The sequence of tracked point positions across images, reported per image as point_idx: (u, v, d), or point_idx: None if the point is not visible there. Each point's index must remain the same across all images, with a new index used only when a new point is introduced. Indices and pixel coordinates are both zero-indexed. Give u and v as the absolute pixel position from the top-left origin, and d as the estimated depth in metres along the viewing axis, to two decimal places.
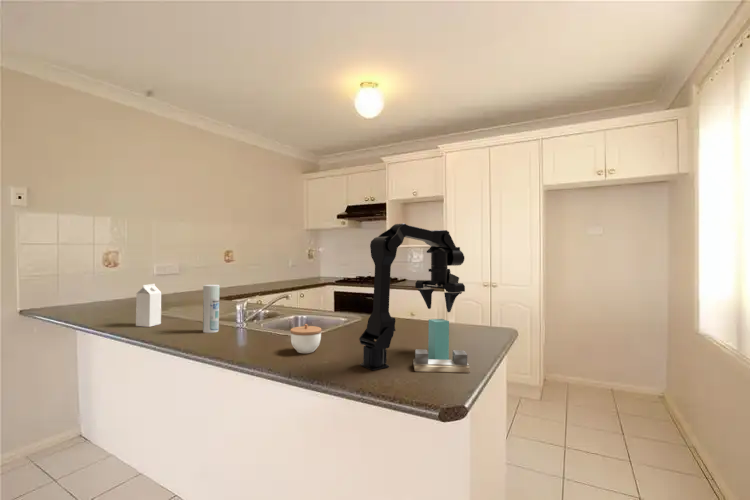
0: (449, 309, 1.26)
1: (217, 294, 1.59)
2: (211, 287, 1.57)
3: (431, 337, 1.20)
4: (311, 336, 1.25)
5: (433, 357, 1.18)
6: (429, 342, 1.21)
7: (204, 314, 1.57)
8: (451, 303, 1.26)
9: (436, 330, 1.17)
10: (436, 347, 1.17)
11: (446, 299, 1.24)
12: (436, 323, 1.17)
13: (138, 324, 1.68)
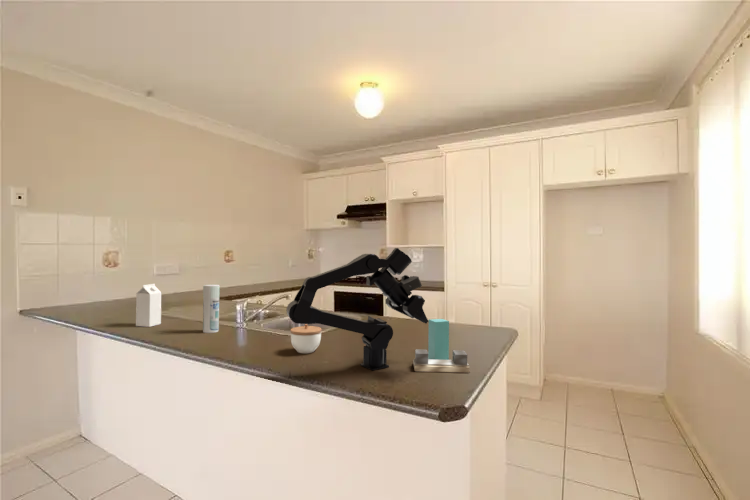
0: (425, 321, 1.13)
1: (217, 294, 1.59)
2: (211, 287, 1.57)
3: (431, 337, 1.20)
4: (311, 336, 1.25)
5: (433, 357, 1.18)
6: (429, 342, 1.21)
7: (204, 314, 1.57)
8: (422, 316, 1.12)
9: (436, 330, 1.17)
10: (436, 347, 1.17)
11: (414, 317, 1.11)
12: (436, 323, 1.17)
13: (138, 324, 1.68)
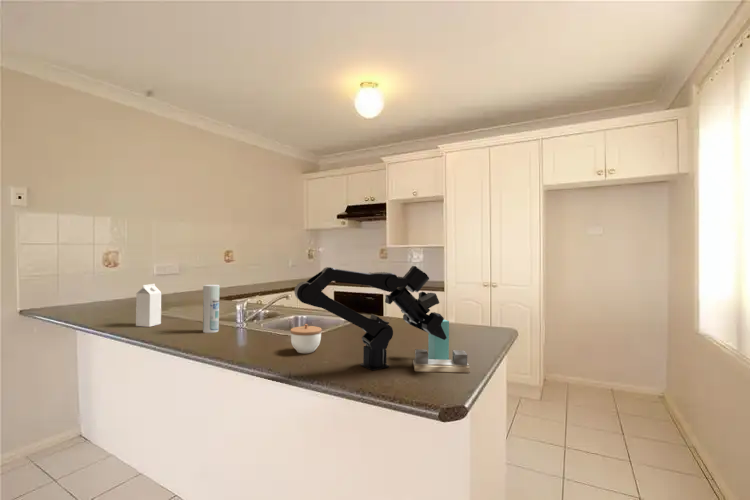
0: (443, 337, 1.15)
1: (217, 294, 1.59)
2: (211, 287, 1.57)
3: (431, 337, 1.20)
4: (311, 336, 1.25)
5: (433, 357, 1.18)
6: (429, 342, 1.21)
7: (204, 314, 1.57)
8: (441, 333, 1.14)
9: None
10: (436, 347, 1.17)
11: None
12: None
13: (138, 324, 1.68)
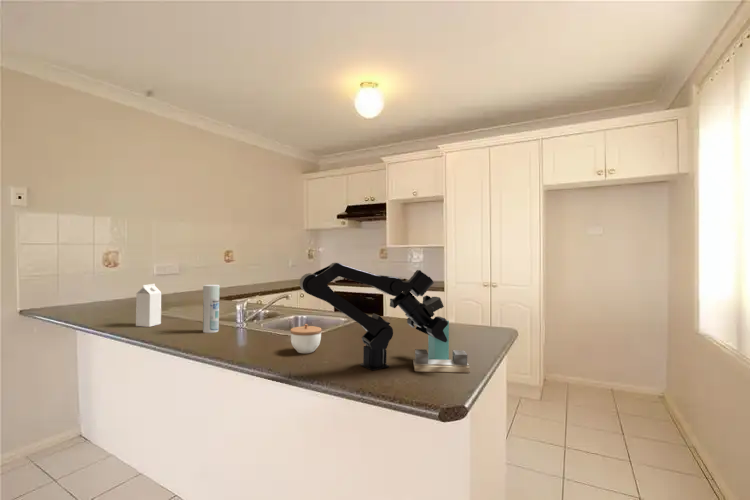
0: (444, 340, 1.17)
1: (217, 294, 1.59)
2: (211, 287, 1.57)
3: (430, 337, 1.20)
4: (311, 336, 1.25)
5: (433, 357, 1.18)
6: (429, 342, 1.21)
7: (204, 314, 1.57)
8: (442, 335, 1.17)
9: None
10: (435, 347, 1.17)
11: None
12: None
13: (138, 324, 1.68)
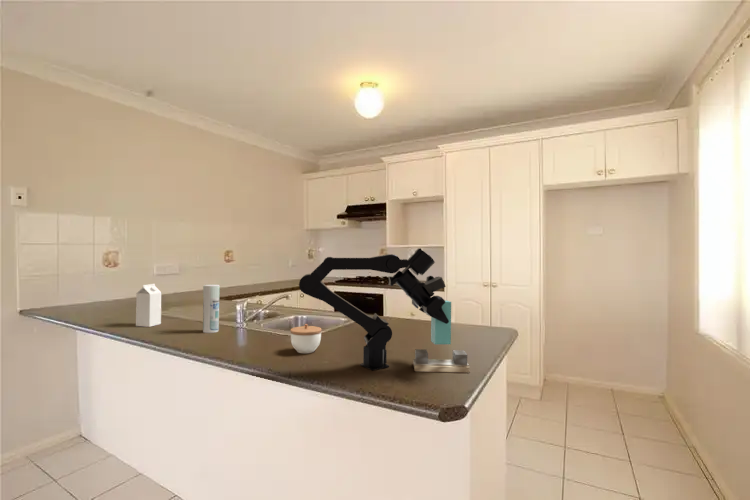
0: (445, 321, 1.13)
1: (217, 294, 1.59)
2: (211, 287, 1.57)
3: (432, 318, 1.16)
4: (311, 336, 1.25)
5: (434, 338, 1.14)
6: (431, 323, 1.17)
7: (204, 314, 1.57)
8: (442, 316, 1.12)
9: None
10: (436, 328, 1.13)
11: (433, 317, 1.12)
12: None
13: (138, 324, 1.68)
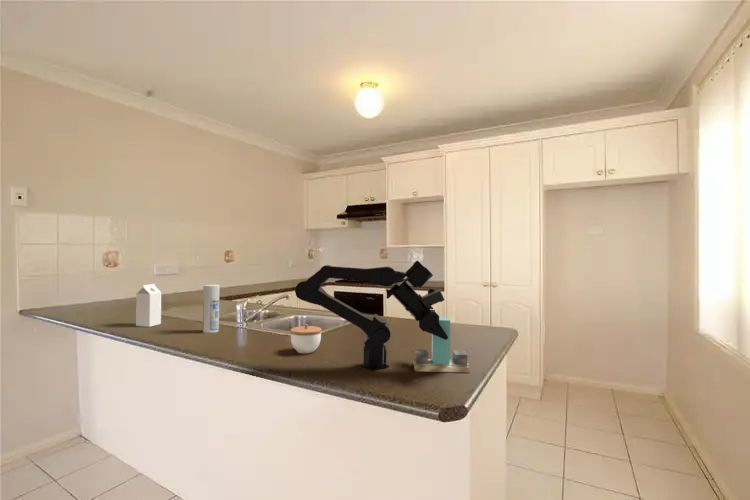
0: (444, 337, 1.08)
1: (217, 294, 1.59)
2: (211, 287, 1.57)
3: (432, 336, 1.13)
4: (311, 336, 1.25)
5: (432, 357, 1.11)
6: None
7: (204, 314, 1.57)
8: (440, 331, 1.07)
9: None
10: (434, 347, 1.10)
11: (431, 333, 1.08)
12: None
13: (138, 324, 1.68)
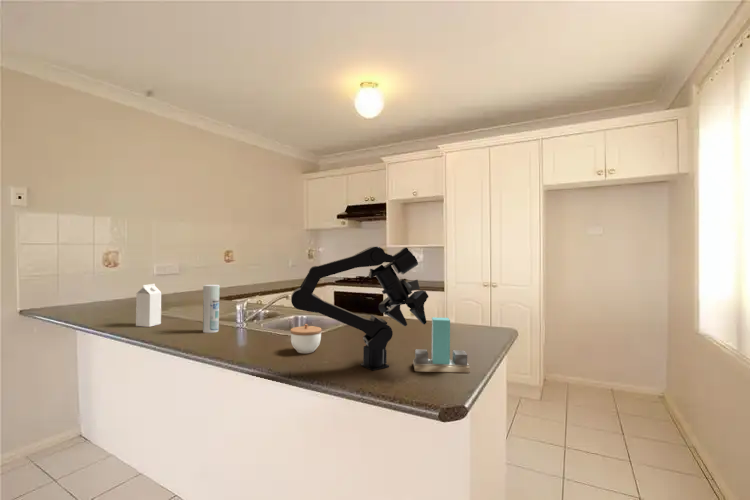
0: (424, 321, 1.12)
1: (217, 294, 1.59)
2: (211, 287, 1.57)
3: (432, 336, 1.13)
4: (311, 336, 1.25)
5: (432, 357, 1.11)
6: None
7: (204, 314, 1.57)
8: (422, 314, 1.11)
9: (434, 329, 1.10)
10: (434, 347, 1.10)
11: (415, 315, 1.10)
12: (434, 321, 1.10)
13: (138, 324, 1.68)
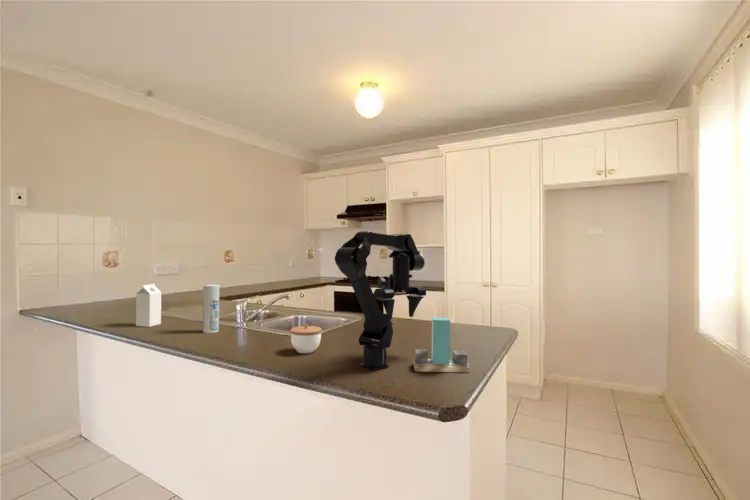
0: None
1: (217, 294, 1.59)
2: (211, 287, 1.57)
3: (432, 336, 1.13)
4: (311, 336, 1.25)
5: (432, 357, 1.11)
6: None
7: (204, 314, 1.57)
8: None
9: (434, 329, 1.10)
10: (434, 347, 1.10)
11: (417, 304, 1.25)
12: (434, 321, 1.10)
13: (138, 324, 1.68)
